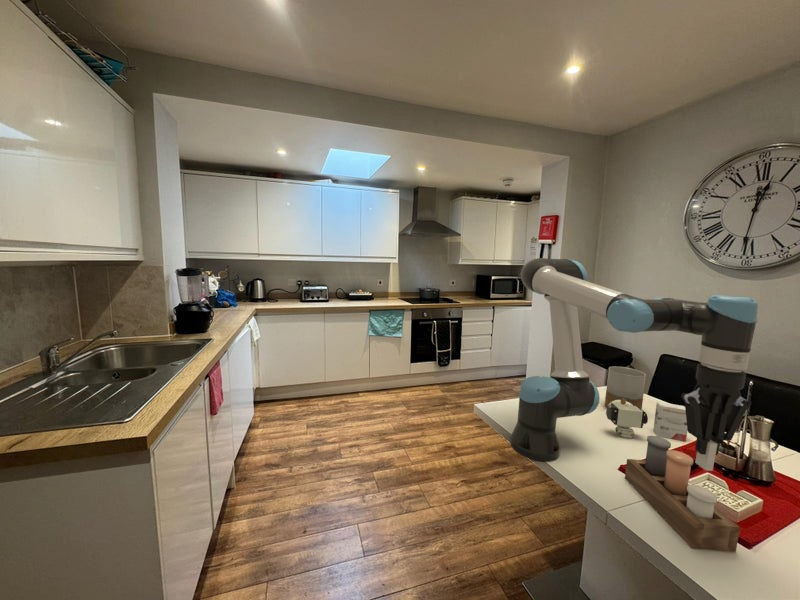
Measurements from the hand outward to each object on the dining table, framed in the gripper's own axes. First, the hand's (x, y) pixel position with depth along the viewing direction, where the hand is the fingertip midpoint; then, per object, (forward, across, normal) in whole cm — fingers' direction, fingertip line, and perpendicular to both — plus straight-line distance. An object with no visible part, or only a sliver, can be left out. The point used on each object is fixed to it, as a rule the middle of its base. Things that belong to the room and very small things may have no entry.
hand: (703, 466), depth 72 cm
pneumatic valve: (+17, +11, +44) cm, 48 cm away
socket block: (+16, 0, +6) cm, 18 cm away
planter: (+17, +24, +65) cm, 71 cm away
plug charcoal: (+11, 0, +13) cm, 18 cm away
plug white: (+15, 0, -1) cm, 15 cm away
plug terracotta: (+11, 0, +6) cm, 13 cm away
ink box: (+17, +28, +45) cm, 56 cm away
